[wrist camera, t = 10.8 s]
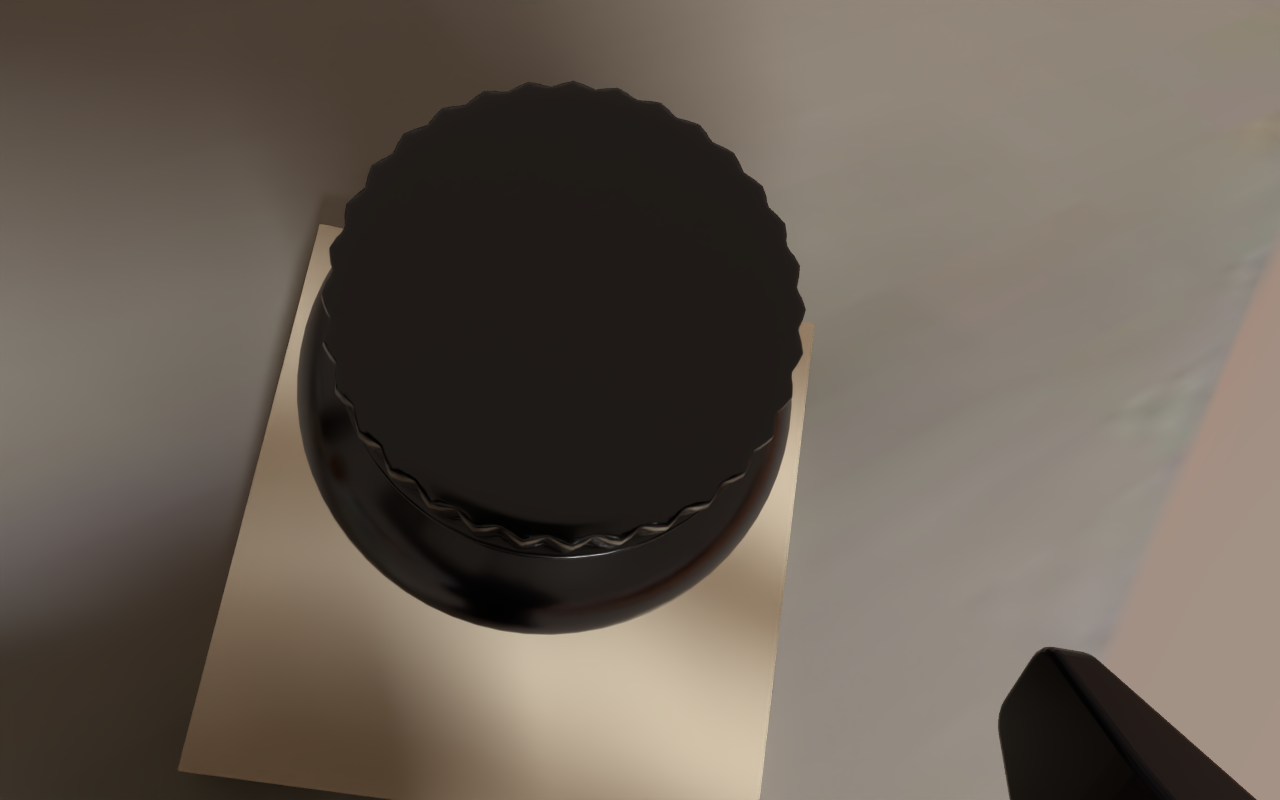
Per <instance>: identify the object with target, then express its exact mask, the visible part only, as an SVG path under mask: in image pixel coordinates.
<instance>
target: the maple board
mask: <svg viewBox="0 0 1280 800" xmlns="http://www.w3.org/2000/svg"><path fill="white" fill-rule="evenodd" d="M342 230H343V228H338V227H333V226H328V225H323V224H320V225H319V229H318V233H317V236H316V240H315V244H314V248H313V252H312V256H311V259H310V263H309V267H308V271H307V275H306V279H305V283H304V286H303V290H302V294H301V298H300V302H299V306H298V309H297V313H296V317H295V321H294V325H293V329H292V332H291V336H290V340H289V344H288V348H287V352H286V355H285V359H284V363H283V367H282V371H281V375H280V378H279V382H278V386H277V390H276V394H275V398H274V402H273V405H272V409H271V413H270V417H269V421H268V425H267V428H266V432H265V436H264V440H263V444H262V448H261V451H260V455H259V459H258V463H257V467H256V471H255V474H254V478H253V482H252V486H251V490H250V494H249V497H248V501H247V505H246V509H245V513H244V517H243V521H242V524H241V528H240V532H239V536H238V540H237V544H236V547H235V551H234V555H233V559H232V563H231V567H230V570H229V574H228V578H227V582H226V586H225V590H224V593H223V597H222V601H221V605H220V609H219V613H218V616H217V620H216V624H215V628H214V632H213V636H212V640H211V643H210V647H209V651H208V655H207V659H206V663H205V666H204V670H203V674H202V678H201V682H200V686H199V689H198V693H197V697H196V701H195V705H194V709H193V712H192V716H191V720H190V724H189V728H188V732H187V736H186V739H185V743H184V747H183V751H182V755H181V759H180V762H179V766H178V770H177V771H181V772H189V773H196V774H204V775H211V776H218V777H226V778H233V779H241V780H248V781H256V782H263V783H271V784H278V785H286V786H293V787H301V788H308V789H316V790H323V791H331V792H338V793H345V794H353V795H360V796H368V797H375V798H383V799H390V800H759V799H760V790H761V782H762V773H763V765H764V756H765V747H766V739H767V730H768V721H769V713H770V704H771V695H772V687H773V678H774V670H775V661H776V652H777V644H778V635H779V626H780V618H781V609H782V600H783V592H784V583H785V575H786V566H787V557H788V549H789V540H790V531H791V523H792V514H793V506H794V497H795V488H796V480H797V471H798V462H799V454H800V445H801V436H802V428H803V419H804V411H805V402H806V393H807V385H808V376H809V367H810V359H811V350H812V341H813V333H814V323H809V322H804V321H802V323H801V325H800V327H799V334H800V338H801V341H802V348H803V355H802V357H801V359H800V361H799V363H798V365H797V366H796V368H795V369H794V370H793V372H792V382H793V396H792V408H791V418H790V428H789V434H788V439H787V444H786V448H785V453H784V456H783V460H782V463H781V466H780V469H779V473H778V476H777V478H776V480H775V483H774V485H773V488H772V490H771V492H770V495H769V497H768V499H767V501H766V503H765V505H764V507H763V508H762V510H761V512H760V514H759V516H758V518H757V519H756V521H755V522H754V524H753V525H752V527H751V528H750V530H749V531H748V533H747V534H746V535H745V537H744V538H743V539H742V541H741V542H740V543H739V544H738V545H737V547H736V548H735V549H734V550H733V551H732V553H731V554H730V555H729V556H728V557H727V558H726V559H725V560H724V561H723V562H722V563H721V564H720V565H719V566H718V567H717V568H716V569H715V570H714V571H713V572H712V573H711V574H710V575H708V576H707V577H706V578H705V579H703V580H702V581H701V582H700V583H698V584H697V585H696V586H695V587H693V588H692V589H690V590H689V591H687V592H686V593H684V594H683V595H681V596H680V597H678V598H676V599H675V600H673V601H672V602H670V603H668V604H666V605H664V606H662V607H660V608H658V609H656V610H654V611H652V612H650V613H648V614H645V615H643V616H640V617H638V618H635V619H633V620H630V621H628V622H624V623H621V624H617V625H614V626H610V627H607V628H603V629H597V630H592V631H586V632H580V633H571V634H557V635H536V634H521V633H513V632H505V631H499V630H495V629H491V628H486V627H482V626H478V625H474V624H472V623H469V622H466V621H463V620H460V619H457V618H454V617H451V616H449V615H447V614H445V613H443V612H441V611H439V610H436V609H434V608H432V607H430V606H428V605H426V604H425V603H423V602H421V601H420V600H418V599H416V598H415V597H413V596H411V595H410V594H408V593H406V592H405V591H403V590H402V589H401V588H399V587H398V586H397V585H395V584H394V583H393V582H391V581H390V580H389V579H387V578H386V577H385V576H384V575H383V574H381V573H380V572H379V571H378V570H377V569H376V568H375V567H374V566H373V565H372V564H371V563H370V562H368V561H367V560H366V559H365V558H364V556H363V555H362V554H361V553H360V552H359V551H358V550H357V549H356V547H355V546H354V545H353V544H352V543H351V542H350V541H349V539H348V538H347V536H346V535H345V534H344V532H343V531H342V529H341V528H340V527H339V525H338V524H337V522H336V521H335V520H334V518H333V516H332V514H331V513H330V511H329V509H328V507H327V506H326V504H325V502H324V500H323V498H322V497H321V494H320V492H319V490H318V487H317V485H316V483H315V480H314V478H313V476H312V473H311V470H310V467H309V464H308V461H307V458H306V454H305V451H304V447H303V442H302V437H301V432H300V427H299V418H298V407H297V373H298V365H299V356H300V349H301V344H302V340H303V335H304V331H305V326H306V323H307V320H308V317H309V314H310V311H311V309H312V306H313V303H314V301H315V298H316V296H317V294H318V292H319V290H320V287H321V285H322V283H323V281H324V279H325V277H326V276H327V274H328V272H329V271H330V269H331V264H330V255H329V247H330V246H331V244H332V243H333V241H334V240H335V238H336V237H337V236H338V235H339V234H340V233H341V232H342Z"/></svg>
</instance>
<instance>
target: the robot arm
mask: <svg viewBox="0 0 1280 800" xmlns="http://www.w3.org/2000/svg"><path fill="white" fill-rule="evenodd" d="M998 731H999V738H1000V744H1001V750H1002V756H1003V762H1004V768H1005V774H1006V780H1007V786H1008V792H1009V798H1010V800H1256V799H1255V798H1254V797H1253V796H1252V795H1251V794H1250V793H1248V792H1247V791H1246V790H1245V789H1244V788H1243V787H1241V786H1240V785H1239V784H1238V783H1237V782H1236V781H1235V780H1234V779H1232V778H1231V777H1230V776H1229V775H1228V774H1227V773H1226V772H1225V771H1223V770H1222V769H1221V768H1220V767H1219V766H1218V765H1217V764H1215V763H1214V762H1213V761H1212V760H1211V759H1210V758H1209V757H1207V756H1206V755H1205V754H1204V753H1203V752H1202V751H1201V750H1200V749H1198V748H1197V747H1196V746H1195V745H1194V744H1193V743H1192V742H1190V741H1189V740H1188V739H1187V738H1186V737H1185V736H1184V735H1183V734H1181V733H1180V732H1179V731H1178V730H1177V729H1176V728H1174V727H1173V726H1172V725H1171V724H1170V723H1169V722H1167V720H1165V719H1164V718H1163V717H1162V716H1161V715H1160V714H1159V713H1158V712H1156V711H1155V710H1154V709H1153V708H1152V707H1151V706H1150V705H1148V704H1147V703H1146V702H1145V701H1144V700H1143V699H1142V698H1141V697H1139V696H1138V695H1137V694H1136V693H1135V692H1134V691H1133V690H1131V689H1130V688H1129V687H1128V686H1127V685H1126V684H1125V683H1123V682H1122V681H1121V680H1120V679H1119V678H1118V677H1117V676H1116V675H1114V674H1113V673H1112V672H1111V671H1110V670H1109V669H1108V668H1106V667H1105V666H1104V665H1103V664H1102V663H1101V662H1100V661H1099V660H1097V659H1096V658H1095V657H1093V656H1091V655H1090V654H1087V653H1084V652H1080V651H1074V650H1068V649H1062V648H1056V647H1045V648H1043V649H1041V650H1039V651H1038V652H1036V653H1035V655H1034V656H1033V657H1032V659H1031V660H1030V662H1029V663H1028V665H1027V666H1026V668H1025V669H1024V671H1023V672H1022V674H1021V675H1020V677H1019V679H1018V680H1017V682H1016V683H1015V685H1014V686H1013V688H1012V689H1011V691H1010V692H1009V694H1008V695H1007V697H1006V699H1005V700H1004V702H1003V704H1002V706H1001V710H1000V713H999V719H998Z"/></svg>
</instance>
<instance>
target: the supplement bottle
mask: <svg viewBox="0 0 1280 800" xmlns="http://www.w3.org/2000/svg"><path fill="white" fill-rule="evenodd" d="M786 238H787V233H786V226H785V223H784V222H783V221H782V220H781V219H780V218H779V217H778V215H777V214H775V213H774V212H773V211H772V210H771V209H770V208H769V206H768V203H767V198H766V194H765V192H764V189H763V186H762V185H760V184H759V183H758V182H757V181H755V180H754V179H753V178H751V177H750V176H748V175H747V174H745V173H744V172H743V170H742V167H741V165H740V163H739V161H738V159H737V158H736V156H735V154H734V153H733V152H731V151H730V150H728V149H726V148H724V147H722V146H720V145H718V144H715V143H713V142H712V141H711V139H710V138H709V137H708V135H707V133H706V132H705V131H704V130H703V128H702V127H701V126H700V125H699V124H696V123H693V122H690V121H687V120H683V119H679V118H677V117H675V116H674V115H673V114H672V113H671V112H670V110H669V109H667V108H666V107H665V106H664V105H662V104H661V103H658V102H652V101H641V100H636V99H635V98H633V97H631V96H630V95H629V94H628V93H626V92H624V91H622V90H621V89H619V88H606V89H597V90H595V89H593V88H590V87H588V86H586V85H583V84H581V83H578V82H575V81H572V82H567V83H563V84H559V85H556V86H553V87H550V86H544V85H541V84H537V83H531V82H528V83H525V84H523V85H520V86H518V87H516V88H514V89H513V90H511V91H509V92H498V91H484V92H482V93H481V94H479V95H478V96H476V97H475V98H474V99H472V100H471V101H470V102H469V103H468V104H466V105H462V106H452V107H447V108H442V109H441V110H440V111H439V112H438V113H437V114H436V115H435V116H434V117H433V119H432V120H431V121H430V122H429V124H428V125H427V126H423V127H420V128H417V129H414V130H412V131H409V132H407V133H404V134H403V136H402V138H401V139H400V141H399V142H398V144H397V146H396V148H395V150H394V152H393V154H391V155H390V156H388V157H386V158H384V159H382V160H380V161H378V162H377V163H375V164H374V165H372V166H371V169H370V172H369V175H368V178H367V182H366V186H365V188H364V189H363V190H362V191H360V192H359V193H358V194H357V195H355V196H354V197H353V198H352V199H351V200H350V201H349V202H348V203H347V204H346V210H345V227H344V229H343V230H342V232H341V233H340V234H339V235H338V236H337V237H336V238H335V240H334V241H333V243H332V244H331V246H330V247H329V255H330V264H331V269H330V271H329V272H328V274H327V276H326V277H325V279H324V281H323V283H322V285H321V287H320V290H319V292H318V294H317V296H316V298H315V301H314V303H313V306H312V309H311V311H310V314H309V317H308V320H307V323H306V326H305V331H304V335H303V340H302V344H301V349H300V356H299V365H298V373H297V407H298V418H299V427H300V432H301V437H302V442H303V447H304V451H305V454H306V458H307V461H308V464H309V467H310V470H311V473H312V476H313V478H314V480H315V483H316V485H317V487H318V490H319V492H320V494H321V497H322V498H323V500H324V502H325V504H326V506H327V507H328V509H329V511H330V513H331V514H332V516H333V518H334V520H335V521H336V522H337V524H338V525H339V527H340V528H341V529H342V531H343V532H344V534H345V535H346V536H347V538H348V539H349V541H350V542H351V543H352V544H353V545H354V546H355V547H356V549H357V550H358V551H359V552H360V553H361V554H362V555H363V556H364V558H365V559H366V560H367V561H368V562H370V563H371V564H372V565H373V566H374V567H375V568H376V569H377V570H378V571H379V572H380V573H381V574H383V575H384V576H385V577H386V578H387V579H389V580H390V581H391V582H393V583H394V584H395V585H397V586H398V587H399V588H401V589H402V590H403V591H405V592H406V593H408V594H410V595H411V596H413V597H415V598H416V599H418V600H420V601H421V602H423V603H425V604H426V605H428V606H430V607H432V608H434V609H436V610H439V611H441V612H443V613H445V614H447V615H449V616H451V617H454V618H457V619H460V620H463V621H466V622H469V623H472V624H474V625H478V626H482V627H486V628H491V629H495V630H499V631H505V632H513V633H521V634H536V635H557V634H571V633H580V632H586V631H592V630H597V629H603V628H607V627H610V626H614V625H617V624H621V623H624V622H628V621H630V620H633V619H635V618H638V617H640V616H643V615H645V614H648V613H650V612H652V611H654V610H656V609H658V608H660V607H662V606H664V605H666V604H668V603H670V602H672V601H673V600H675V599H676V598H678V597H680V596H681V595H683V594H684V593H686V592H687V591H689V590H690V589H692V588H693V587H695V586H696V585H697V584H698V583H700V582H701V581H702V580H703V579H705V578H706V577H707V576H708V575H710V574H711V573H712V572H713V571H714V570H715V569H716V568H717V567H718V566H719V565H720V564H721V563H722V562H723V561H724V560H725V559H726V558H727V557H728V556H729V555H730V554H731V553H732V551H733V550H734V549H735V548H736V547H737V545H738V544H739V543H740V542H741V541H742V539H743V538H744V537H745V535H746V534H747V533H748V531H749V530H750V528H751V527H752V525H753V524H754V522H755V521H756V519H757V518H758V516H759V514H760V512H761V510H762V508H763V507H764V505H765V503H766V501H767V499H768V497H769V495H770V492H771V490H772V488H773V485H774V483H775V480H776V478H777V476H778V473H779V469H780V466H781V463H782V460H783V456H784V453H785V448H786V444H787V439H788V434H789V428H790V418H791V408H792V396H793V382H792V372H793V370H794V369H795V368H796V366H797V365H798V363H799V361H800V359H801V357H802V355H803V348H802V341H801V338H800V334H799V327H800V325H801V323H802V320H803V317H804V314H805V310H806V309H805V306H804V303H803V300H802V298H801V296H800V294H799V292H798V289H797V284H798V279H799V271H800V265H799V263H798V262H797V260H796V258H795V256H794V255H793V254H792V253H791V252H790V250H789V248H788V247H787V242H786Z"/></svg>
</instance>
